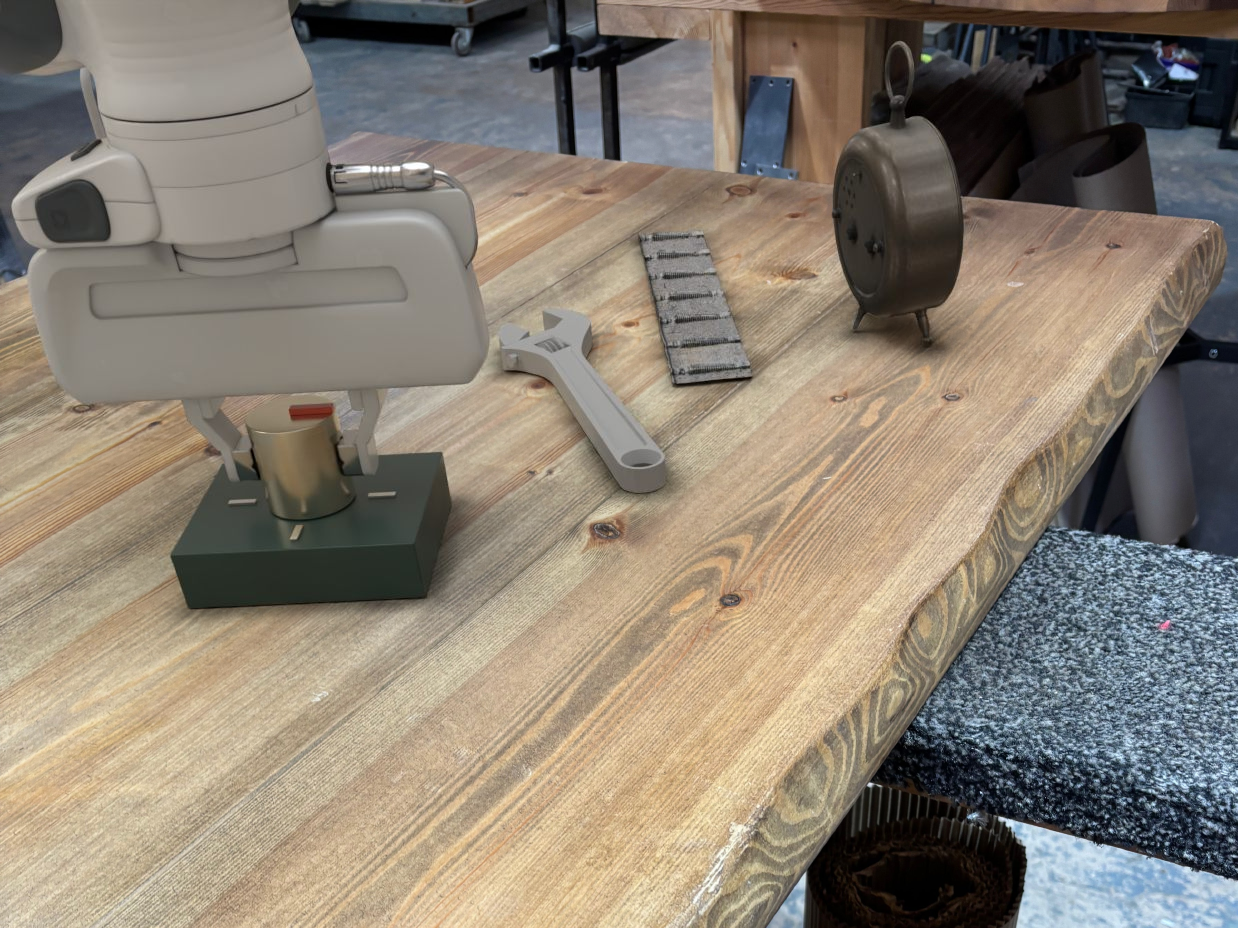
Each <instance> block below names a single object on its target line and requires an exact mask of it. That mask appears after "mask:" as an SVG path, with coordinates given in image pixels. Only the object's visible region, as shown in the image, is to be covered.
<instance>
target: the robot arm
mask: <svg viewBox="0 0 1238 928" xmlns="http://www.w3.org/2000/svg"><path fill="white" fill-rule="evenodd" d="M300 2H301V0H0V73H2V74H4V75H11V76H14V75H25V76H26V75H27V76H36V77H37V76H40V77H41V76H42V77H43V76H52V75H58V74H63V73H67V72H71V71H76V70H80V69H81V68H85V67H87V68H88V69H89V70H90V72H91V75H92V76H91V77H92V79H93V81H94V86H95V89H96V90H95V91H96V92H95V93H96V98H97V108H98V112H99V115H100V118H101V122H102V125H103V128H104V132H105V135H106V137H105V138H103V139H95V140H92V141H90V142H88V143H85V144H84V145H83V146H81V147H80V148H78V149H77V150H75V151H73V152H71V153H68V154H67V155H65V156H64V157H62V158H60V159H58V160H57V161H55V162H54V163H51V165H49V166H48V167H46V168H45V169H43V170H42V171H41V172H39V173H38V174H37V175H36V176H34V177H33V178H32V179H31V180H29V182H27V184H26V185H25V186H23V187H22V189H20V190H19V192H18V193H17V194H16V195H15V196H14V197H13V199H12V202H11V212H12V217H13V219H14V223H15V225H16V227H17V229H18V231H19V233H20V236H21V237H22V238H23V239H24V241H25V242H26V243H27V244H29V245H30V246H32V247H34V248H39V249H38V250H37V251H35V253H34V254H33V255H32V257H31V259H30V261H29V264H28V267H27V273H26V276H27V277H26V279H27V291H28V295H29V300H30V305H31V308H32V309H31V310H32V312H33V316H34V320H35V324H36V328H37V332H38V334H39V338H40V341H41V344H42V347H43V350H44V353H45V356H46V359H47V362H48V365H49V368H50V371H51V373H52V375H53V378H54V380H55V381H56V383H57V384H58V386H59V387H60V388H61V389H62V390H64V392H65V393H67V394H68V395H69V396H70V397H72V398H73V399H75V401H76V402H78V403H79V404H81V405H87V406H88V405H105V404H106V405H107V404H122V403H123V404H125V403H141V402H160V401H179V400H180V401H181V404H182V408H183V411H184V414H185V417H186V420H187V422H188V423H190V425H191V426H193V428H194V429H195V430H197V432H198V433H199V434H200V435H201V436H202V437H203V438H204V439H205V440H206V441H207V442H208V444H210V445H211V446H212V447H213V448H214V449H215V450H216V451H217V452H220V454H221V457H222V461H223V463H224V464H225V467H226V471H227V474H228V477H229V480H230V481H231V482H246V481H259V480H261V478H260V475H259V471H258V468H257V464H256V461H255V457H254V454H253V450H252V447H251V443H250V440H249V436H248V434H242V432H241V431H240V430H239V428H237V426H236V424H235V423H233V422H232V420H231V419H230V418H229V417H228V416H227V415H226V413H225V412H224V411H223V410H222V408H221V407H222V405H223V403H224V402H225V400H226V398H235V397H252V396H253V397H254V396H255V397H257V396H271V395H272V396H274V395H292V394H311V393H328V392H330V393H331V392H347V394H348V395H347V396H348V399H349V403H350V408H351V410H352V411H354V412H362V411H364V412H363V415H362V417H361V420H360V422H359V426H358V428H357V429H345V430H343V432H342V439H341V440H340V441H339V443H338V445H337V447H338V452H339V456H340V459H341V460H342V461H343V462H344V464H343V466H342V469H343V473H344V475H345V476H367V475H375V473H376V471H377V468H378V465H379V457H378V455H379V451H378V447H377V443H376V437H375V433H374V431H375V429H376V427H377V423H378V421H379V419H380V415H381V412H382V410H383V407H384V404H385V401H386V399H387V397H388V393H389V390H388V389H403V388H423V387H424V388H425V387H441V386H444V387H445V386H459V385H460V386H461V385H468V384H470V383H472V382H473V381H474V380H475V378H476V377H477V375H478V374H479V372H480V371H481V369H482V368H483V366H484V364H485V363H486V360H487V358H488V354H489V350H490V340H491V339H490V332H489V331H490V330H489V325H488V320H487V319H488V318H487V315H486V309H485V305H484V301H483V297H482V293H481V289H480V285H479V281H478V278H477V275H476V271H475V268H474V265H473V264H474V263H473V260H474V259H475V256H476V254H477V251H478V245H479V233H478V227H477V220H476V214H475V213H476V212H475V207H474V203H473V200H472V197H471V194H470V193H469V191H468V189H467V188H466V186H465V185H464V184H463V183H462V181H460V180H459V179H458V178H457V177H456V176H454V175H453V174H451V173H449V172H447V171H445V170H442V169H438V168H437V169H436V168H435V165H434V163H433V162H432V161H431V160H430V161H429V160H422V159H409V160H402V161H401V162H400V163H392V164H391V163H386V164H385V163H376V162H375V163H372V162H361V163H360V162H359V163H337V164H332V162H331V158H330V151H329V147H328V143H327V138H326V134H325V129H324V128H325V127H324V125H323V119H322V113H321V108H320V104H319V99H318V95H317V91H316V86H315V85H316V84H315V81H314V75H313V72H312V70H311V67H310V65H309V62H308V59H307V57H306V54H305V53H304V51H303V49H302V46H301V45H300V43H299V40H298V38H297V35H296V32H295V29H294V26H293V22H292V17H293V15H294V13H295V12H296V10H297V8H298V6H299V4H300ZM437 181H440V182H443V183H445V184H446V185H436V182H437Z"/></svg>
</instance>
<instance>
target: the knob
mask: <svg viewBox="0 0 1238 928" xmlns="http://www.w3.org/2000/svg"><path fill="white" fill-rule="evenodd" d="M244 425H245V428H246V433H247V435H248V436H249V440H250V443H251V447H252V450H253V454H254V457H255V461H256V464H257V468H258V471H259V475H260V478H261V482H262V485H263V489H264V493H265V496H266V500H267V503H268V507H269V509H270V511H271V512H272V513H273V514H275V515H276V516H279V517H282V518H286V519H292V520H305V519H314V518H319V517H323V516H327V515H330V514H333V513H335V512H337V511H339V510H341V509H343V508H345V507H346V506H347V505H349V504H350V503H351V502H352V500H353V499H354V497H355V487H354V483H353V479H352V476H345V475H344V473H343V469H342V466H343V464H344V462H343V461H342V460H341V459H340V456H339V452H338V447H337V445H338V443H339V441H340V440H341V439H342V434H343V432H342V428H341V424H340V420H339V415H338V410H337V407H336V404H335V403H334V402H333V401H332V400H331V399H329V398H327V397H324V396H319V395H312V394H301V395H290V396H284V397H279V398H275V399H272V400H269V401H266V402H263V403H262V404H259V405H258V406H255V407H254V408H253V409H251V410H250V411H249V412H248V413H247V414H246V415H245V417H244Z"/></svg>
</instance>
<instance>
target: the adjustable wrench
mask: <svg viewBox="0 0 1238 928" xmlns="http://www.w3.org/2000/svg"><path fill="white" fill-rule="evenodd" d="M541 313H542V321H543V322H542V323H543V331H540V332H539V333H535V334H532V335H530V330H528V329H526V328H523V327H521V326H519V325H516V324H513V323H511V322H505V323H503V324H502V325H501V326H500V327H499V329H498V332H497V336H498V343H499V352H500V359H501V365H502V370H505V371H519V372H525V373H529V374H533V375H537V376H540V377H543V378H545V379H546V380H548V381H549V382H550V383H552V384H553V386H554V388H555V389H556V390H557V392H558V394H559V395H560V396H561V398H562V399H563V401H564V402H565V404H566V406H567V407H568V409H569V411H570V412H571V414H572V415H573V417H574V418H575V419H576V421H577V422H578V424H579V426H580V427H581V428H582V430H583V431H584V432H583V433H585V435H586V437H587V438H588V439H589V441H590V443H591V444H592V446H593V447H594V449H595V450H596V452H597V453H598V455H599V456H600V457H601V459H602V461H603V462H604V464H605V465H606V467H607V468H608V470H609V471H610V474H611V475H612V476H613V478H614V479H615V481H616V482H617V483H618V485H619V487H620V488H622V489H623V490H624V491H626V492H629V493H635V494H645V493H651V492H654V491H657V490H659V489H661V488H663V487H664V486H665V485H666V483H667V469H666V468H667V467H666V456H665V453H664V452H663V451H662V450H661V448H660V446H658V445H657V443H656V442H655V441H654V439H652V437H651V436H650V434H648V433H647V432H646V430H645V429H644V427H642V425H641V424H640V422H638V421H637V419H636V418H635V417H634V416H633V414H632V413H631V412H630V411H629V409H627V407H626V406H625V405H624V404H623V402H622V401H621V400H620V399H619V397H618V395H616V393H614V391H613V390H612V389H611V387H610V386H609V385H608V384H607V383H606V381H604V379H603V378H602V376H601V375H600V374H599V373H598V372H597V370H596V369H595V368H594V367H593V365H592V364H591V363H590V362H589V361H588V359H587V358H588V355H589V353H590V352H591V349H592V347H593V332H592V323H591V319H590V317H589V316H587V315H586V314H584V313H583V312H580V311H577V310H572V309H567V308H566V309H565V308H545V309H542V310H541Z"/></svg>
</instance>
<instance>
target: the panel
mask: <svg viewBox="0 0 1238 928" xmlns="http://www.w3.org/2000/svg"><path fill="white" fill-rule="evenodd" d="M378 457H379V465H378V468H377V471H376V473H375V475H367V476H352V479H353V483H354V487H355V497H354V499H353V500H352V502H351V503H350V504H349V505H347V506H346V507H345V508H343V509H341V510H339V511H337V512H335V513H333V514H330V515H327V516H323V517H319V518H314V519H305V520H292V519H286V518H282V517H279V516H276V515H275V514H273V513H272V512H271V511H270V509H269V507H268V503H267V500H266V496H265V493H264V489H263V485H262V482H261V480H259V481H246V482H231V481H230V480H229V477H228V474H227V471H226V467H225V464H224V462H223V463H222V464H221V466H220V467H219V469H218V471H217V472H216V474H215V476H214V478H213V479H212V481H211V483H210V484H209V487H208V488H207V490H206V492H205V493H204V495H203V496H202V499H201V500H200V502H199V503H198V505H197V507H196V509H195V511H194V512H193V514H192V515H191V518H190V519H189V521H188V523H187V525H186V526H185V528H184V530H183V531H182V533H181V535H180V536H179V538H178V540H177V542H176V544H175V545H174V547H173V549H172V550H171V552H170V554H169V557H170V560H171V563H172V566H173V569H174V571H175V574H176V577H177V581H178V584H179V586H180V588H181V592H182V594H183V598H184V600H185V603H186V606H187V608H188V609H204V608H225V607H227V608H228V607H246V606H270V605H271V606H272V605H286V604H287V605H288V604H289V605H291V604H311V603H313V604H314V603H331V602H332V603H333V602H352V601H353V602H355V601H374V600H375V601H376V600H377V601H378V600H398V599H399V600H400V599H419V598H426V596H427V592H428V589H429V584H430V581H431V578H432V574H433V571H434V567H435V565H436V559H437V557H438V553H439V549H440V545H441V542H442V539H443V535H444V531H445V528H446V524H447V520H448V518H449V513H450V511H451V506H452V502H453V501H452V496H451V492H450V486H449V480H448V474H447V469H446V463H445V459H444V453H443V451H429V452H410V453H409V452H408V453H391V454H390V453H389V454H378Z"/></svg>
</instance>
